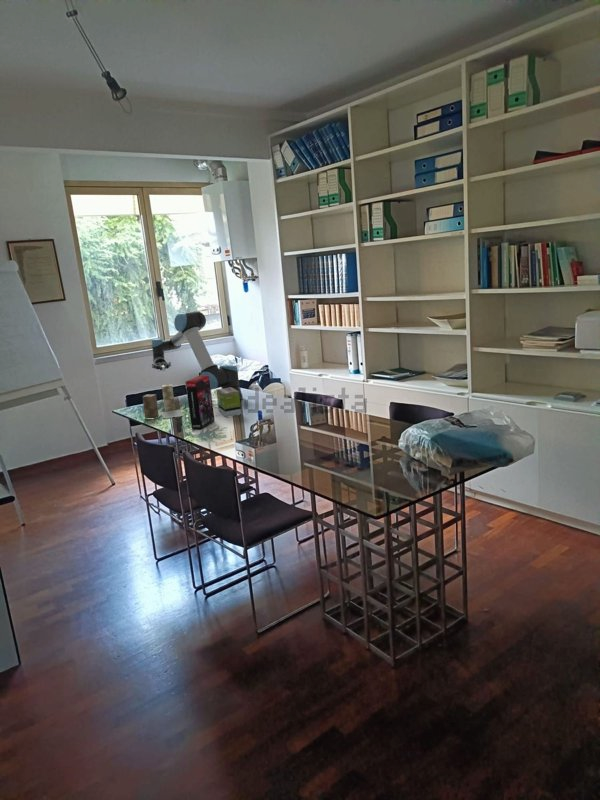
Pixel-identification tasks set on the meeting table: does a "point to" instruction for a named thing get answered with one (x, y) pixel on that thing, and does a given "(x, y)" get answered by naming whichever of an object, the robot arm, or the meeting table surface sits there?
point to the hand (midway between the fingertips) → (163, 368)
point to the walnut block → (150, 406)
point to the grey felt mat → (172, 414)
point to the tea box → (228, 401)
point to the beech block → (168, 397)
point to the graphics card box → (200, 402)
